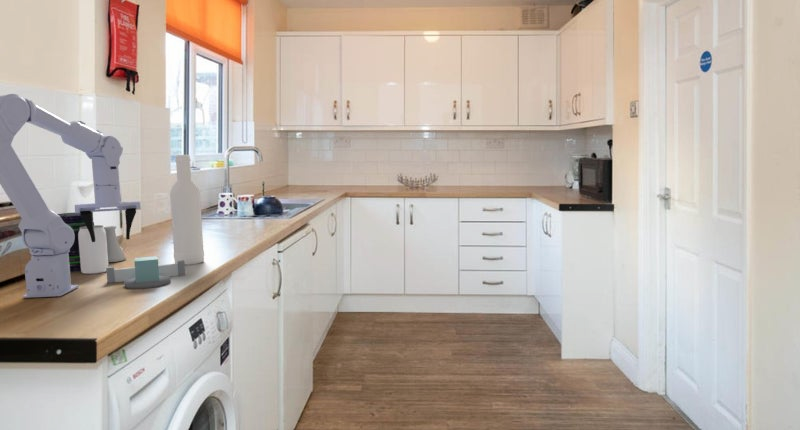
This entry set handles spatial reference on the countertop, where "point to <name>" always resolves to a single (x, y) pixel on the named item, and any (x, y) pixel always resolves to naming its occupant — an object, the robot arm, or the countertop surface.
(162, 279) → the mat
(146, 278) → the block
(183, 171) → the bottle
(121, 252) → the flask
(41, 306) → the countertop surface
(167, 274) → the acrylic wall
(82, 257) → the can
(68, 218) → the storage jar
